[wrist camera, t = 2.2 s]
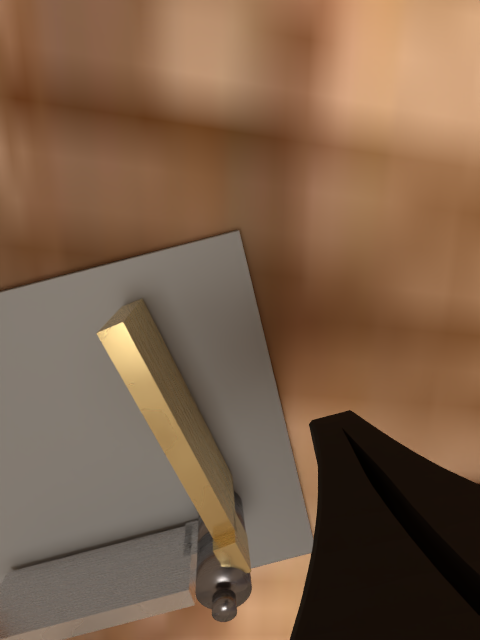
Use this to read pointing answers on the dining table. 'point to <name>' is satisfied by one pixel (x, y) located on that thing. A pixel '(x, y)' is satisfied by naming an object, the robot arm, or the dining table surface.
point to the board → (137, 408)
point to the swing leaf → (182, 447)
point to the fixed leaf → (109, 586)
